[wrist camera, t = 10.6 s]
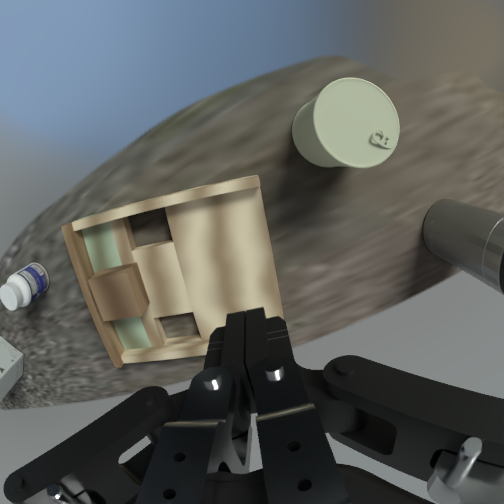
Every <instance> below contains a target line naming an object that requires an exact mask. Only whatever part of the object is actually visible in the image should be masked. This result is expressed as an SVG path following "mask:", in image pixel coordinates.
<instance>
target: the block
mask: <svg viewBox="0 0 504 504" xmlns="http://www.w3.org/2000/svg"><path fill="white" fill-rule="evenodd" d="M88 282H89V285H90V288H91V290H92V293H93V296H94V298H95V301H96V304H97V306H98V309H99V311H100V314H101V316H102V319H103V321H110V320H117V319H125V318H132V317H139V316H142V315H143V313H144V312H145V310H146V308H147V307H148V305H149V303H150V301H149V298H148V295H147V292H146V289H145V286H144V283H143V280H142V277H141V273H140V270H139V267H138V264H137V262H135V263H131V264H126V265H121V266H116V267H112V268H107V269H102V270H100V271H98V272H97V273H96V274H95V275H94V276H92V277H91V278H90V279H89V280H88Z"/></svg>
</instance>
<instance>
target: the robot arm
mask: <svg viewBox="0 0 504 504" xmlns="http://www.w3.org/2000/svg"><path fill="white" fill-rule="evenodd" d="M423 237H424V241H425V244H426V246H427V248H428V249H429V250H430V252H432V253H433V254H435V255H437V256H438V257H440V258H442V259H444V260H446V261H447V262H449V263H451V264H452V265H454V266H456V267H458V268H459V269H461V270H463V271H465V272H466V273H468V274H470V275H472V276H473V277H475V278H477V279H478V280H480V281H482V282H483V283H485V284H487V285H488V286H490V287H492V288H493V289H495V290H497V291H498V292H500V293H501V294H503V295H504V214H502V213H498V212H495V211H491V210H488V209H484V208H481V207H477V206H473V205H470V204H466V203H462V202H459V201H455V200H450V199H442V200H440V201H438V202H436V203H435V204H434V205H433V206H432V207H431V208H430V210H429V211H428V213H427V215H426V218H425V221H424V226H423ZM207 350H208V351H207V353H206V358H205V364H204V369H203V370H202V371H200V372H199V373H197V374H196V375H195V376H194V377H193V379H192V381H191V384H190V387H189V389H187V390H185V391H182V392H179V393H176V394H173V395H168V393H167V391H166V390H165V389H164V388H162V387H159V386H150V387H146V388H143V389H141V390H139V391H137V392H136V393H134V394H133V395H132V396H130V397H129V398H127V399H126V400H124V401H123V402H121V403H120V404H119V405H117V406H116V407H114V408H113V409H111V410H110V411H108V412H107V413H105V414H104V415H103V416H101V417H100V418H98V419H97V420H95V421H94V422H92V423H91V424H89V425H88V426H87V427H85V428H83V429H82V430H80V431H79V432H77V433H75V434H74V435H72V436H71V437H69V438H68V439H66V440H65V441H63V442H62V443H60V444H59V445H57V446H55V447H54V448H52V449H51V450H49V451H47V452H46V453H44V454H43V455H41V456H39V457H38V458H36V459H34V460H33V461H31V462H30V463H28V464H26V465H25V466H23V467H21V468H20V469H18V470H16V471H15V472H13V473H12V474H10V475H9V477H8V478H7V479H6V481H5V483H4V494H5V496H6V498H7V499H8V500H9V501H10V502H12V503H13V504H435V503H433V502H430V501H428V500H426V499H423V498H421V497H419V496H416V495H414V494H412V493H410V492H408V491H406V490H404V489H401V488H399V487H397V486H395V485H393V484H391V483H389V482H387V481H385V480H383V479H381V478H379V477H378V476H376V475H374V474H372V473H370V472H368V471H366V470H363V469H361V468H358V467H354V466H350V465H344V464H337V463H336V461H335V458H334V455H333V452H332V450H331V447H330V445H329V442H328V439H327V437H326V434H325V433H329V434H330V436H331V437H332V438H333V439H335V440H337V441H338V442H340V443H342V444H344V445H346V446H348V447H350V448H352V449H354V450H356V451H358V452H360V453H362V454H364V455H366V456H368V457H370V458H372V459H374V460H377V461H379V462H381V463H383V464H385V465H388V466H390V467H392V468H395V469H397V470H399V471H401V472H404V473H406V474H408V475H411V476H414V477H416V478H418V479H421V480H423V481H426V482H427V491H428V494H429V496H430V497H431V498H432V499H433V500H434V501H436V502H438V503H439V504H504V399H501V398H497V397H493V396H489V395H485V394H481V393H477V392H474V391H470V390H466V389H462V388H459V387H455V386H451V385H448V384H444V383H441V382H438V381H434V380H430V379H427V378H424V377H421V376H418V375H414V374H411V373H408V372H405V371H401V370H398V369H395V368H392V367H389V366H386V365H383V364H380V363H377V362H374V361H371V360H368V359H365V358H362V357H359V356H354V355H346V356H341V357H338V358H335V359H333V360H331V361H330V362H329V363H328V364H327V365H326V366H325V367H324V370H310V369H306V368H303V367H301V366H299V365H298V364H297V363H296V362H295V360H294V356H293V352H292V348H291V343H290V339H289V335H288V330H287V326H286V322H285V321H284V320H283V319H282V318H281V317H279V316H275V317H270V318H266V314H265V310H264V307H260V308H255V309H250V310H246V312H245V311H239V312H234V313H229V314H227V316H226V324H225V326H223V327H217V328H216V329H215V330H214V331H213V332H212V334H211V335H210V338H209V344H208V348H207ZM251 413H257V414H258V416H257V417H256V426H257V432H258V439H259V446H260V453H261V459H262V466H263V468H262V469H259V470H256V471H253V472H250V473H249V466H250V454H251V442H252V427H251ZM145 436H147V437H148V438H149V440H150V441H151V444H149V445H148V446H146V447H145V448H144V449H143V450H142V451H140V452H139V453H137V454H136V455H135V456H133V457H132V458H131V459H129V460H128V461H127V462H125V463H122V464H119V463H118V460H119V457H120V455H121V454H122V453H124V452H125V451H127V450H128V449H129V448H131V447H132V446H133V445H134V444H136V443H137V442H139V441H140V440H141V439H143V438H144V437H145Z"/></svg>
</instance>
